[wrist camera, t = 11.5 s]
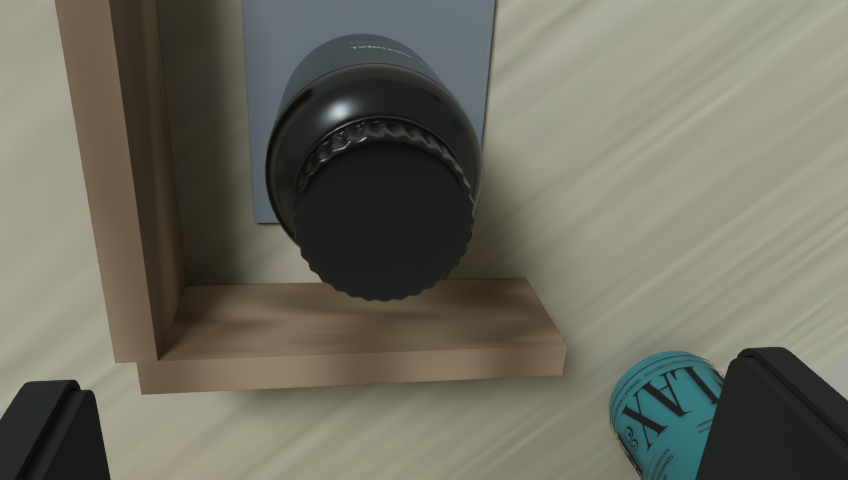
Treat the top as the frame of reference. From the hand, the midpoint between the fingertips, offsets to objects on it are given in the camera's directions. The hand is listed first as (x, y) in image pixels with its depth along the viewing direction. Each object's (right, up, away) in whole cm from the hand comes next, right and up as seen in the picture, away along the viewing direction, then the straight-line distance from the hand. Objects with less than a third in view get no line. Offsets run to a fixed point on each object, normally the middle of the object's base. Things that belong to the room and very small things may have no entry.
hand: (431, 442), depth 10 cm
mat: (-2, +9, +18) cm, 20 cm away
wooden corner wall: (-3, +8, +18) cm, 20 cm away
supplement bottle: (-3, +8, +18) cm, 20 cm away
